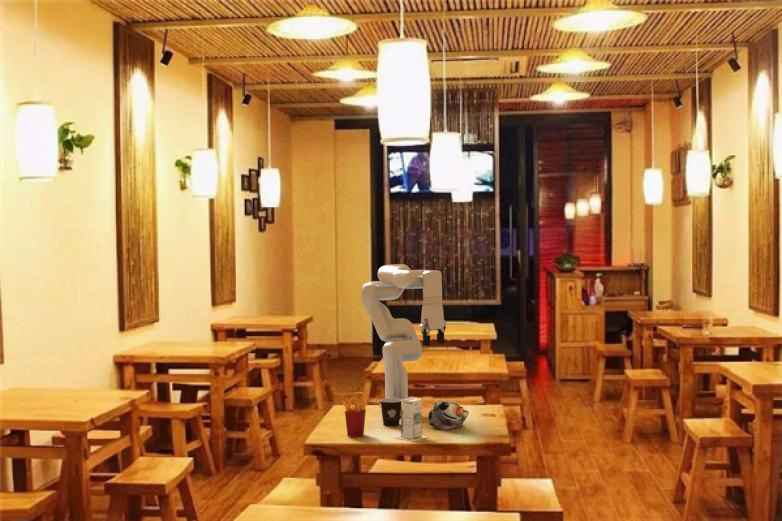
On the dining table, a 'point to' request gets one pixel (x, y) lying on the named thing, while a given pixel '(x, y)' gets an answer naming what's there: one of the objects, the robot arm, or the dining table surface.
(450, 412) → the lucky cat figurine
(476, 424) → the dining table surface
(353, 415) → the french fries
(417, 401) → the syrup box
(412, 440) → the tile
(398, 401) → the coffee mug
